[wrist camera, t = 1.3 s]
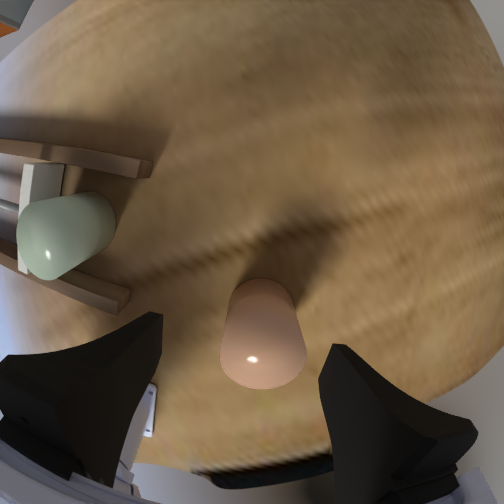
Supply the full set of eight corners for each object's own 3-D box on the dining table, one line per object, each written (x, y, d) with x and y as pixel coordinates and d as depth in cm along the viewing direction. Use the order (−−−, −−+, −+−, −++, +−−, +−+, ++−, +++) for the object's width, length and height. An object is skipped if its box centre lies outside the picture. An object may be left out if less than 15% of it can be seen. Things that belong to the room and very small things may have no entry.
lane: (128, 301, 22) (110, 322, 18) (-23, 237, 20) (-44, 244, 16) (153, 161, 19) (133, 160, 15) (-15, 136, 17) (-37, 136, 14)
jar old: (111, 259, 21) (67, 290, 14) (64, 243, 20) (16, 267, 14) (120, 198, 19) (72, 210, 13) (71, 186, 19) (18, 195, 13)
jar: (280, 341, 23) (289, 394, 16) (221, 327, 22) (212, 379, 16) (301, 287, 21) (319, 332, 15) (237, 270, 21) (231, 312, 15)
